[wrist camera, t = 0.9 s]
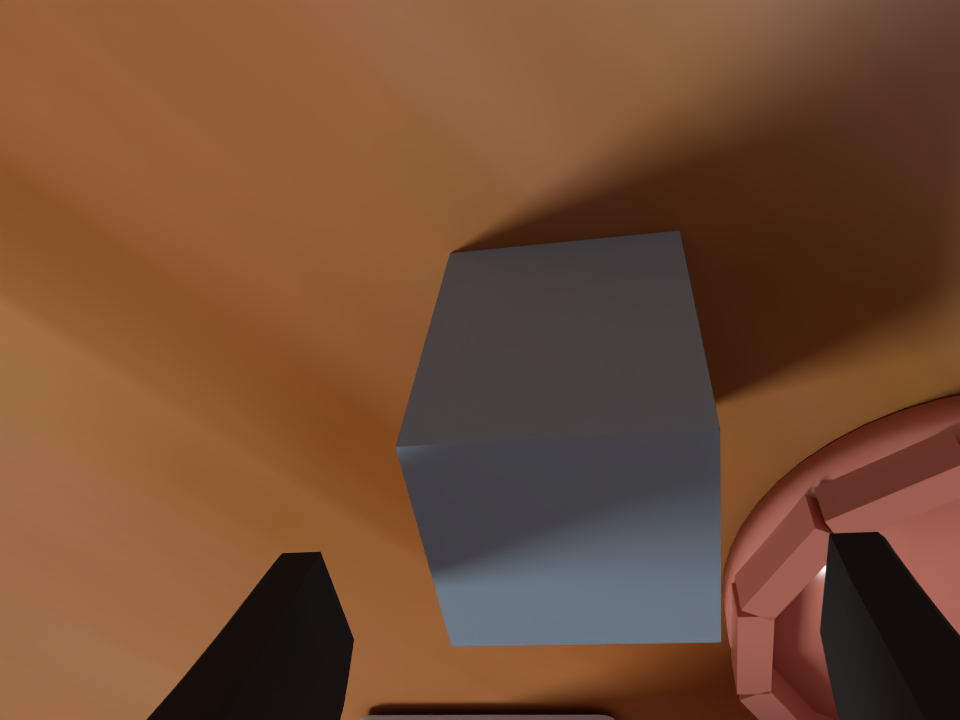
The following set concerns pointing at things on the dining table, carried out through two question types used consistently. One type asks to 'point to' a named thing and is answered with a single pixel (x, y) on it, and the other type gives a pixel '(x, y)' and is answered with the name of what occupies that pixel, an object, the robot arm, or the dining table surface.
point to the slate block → (568, 447)
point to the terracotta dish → (804, 545)
